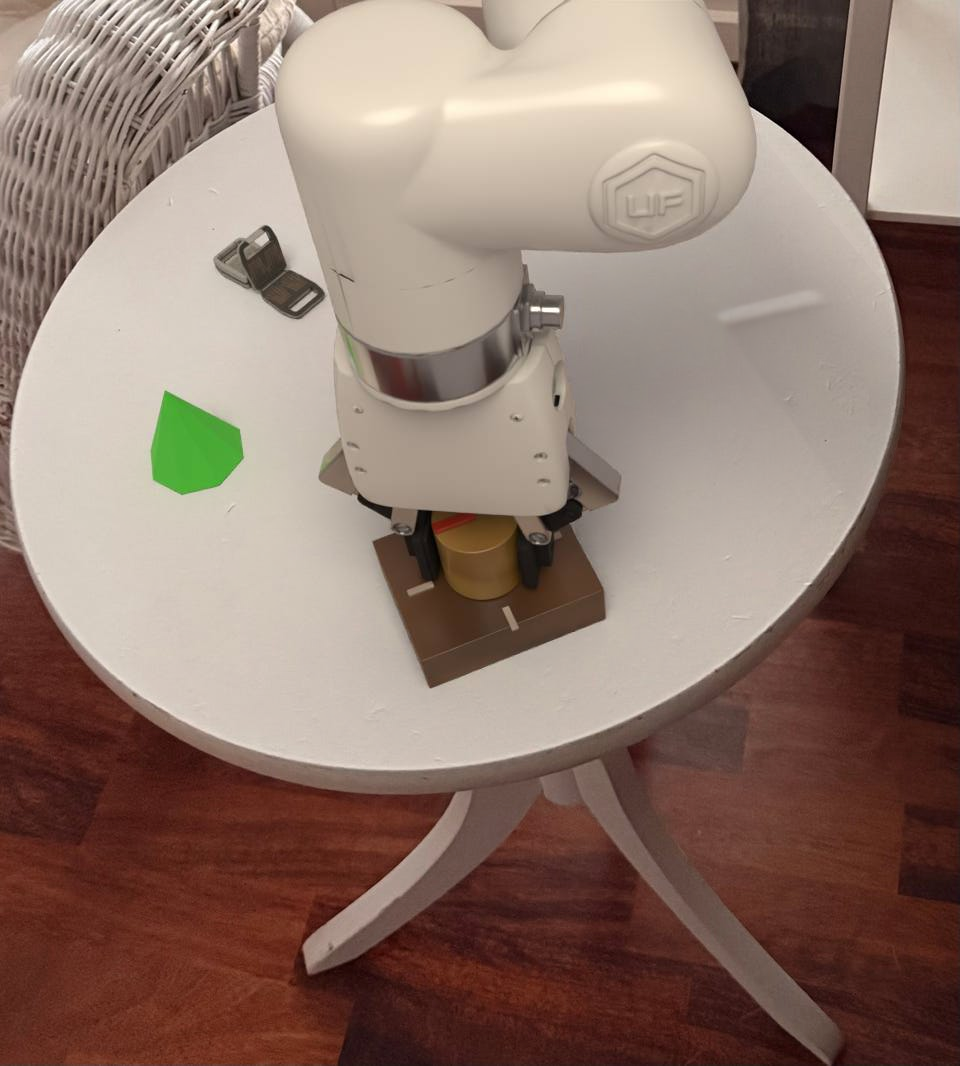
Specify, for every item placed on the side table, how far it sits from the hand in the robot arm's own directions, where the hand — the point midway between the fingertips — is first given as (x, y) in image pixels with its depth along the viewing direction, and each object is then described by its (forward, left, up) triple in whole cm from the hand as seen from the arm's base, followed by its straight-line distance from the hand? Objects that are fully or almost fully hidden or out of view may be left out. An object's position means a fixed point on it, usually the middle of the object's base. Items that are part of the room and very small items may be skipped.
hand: (483, 558), depth 64 cm
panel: (0, 0, -4) cm, 4 cm away
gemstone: (+13, -17, -4) cm, 21 cm away
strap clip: (+5, -29, -4) cm, 29 cm away
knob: (0, 0, -1) cm, 1 cm away
